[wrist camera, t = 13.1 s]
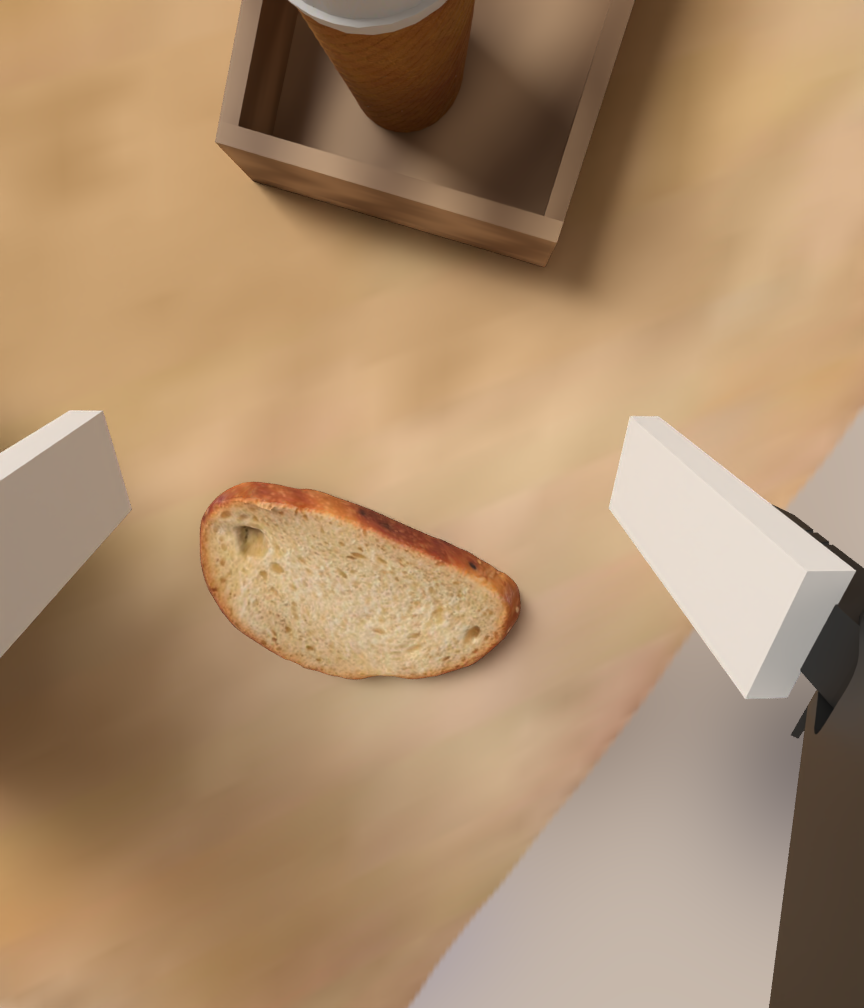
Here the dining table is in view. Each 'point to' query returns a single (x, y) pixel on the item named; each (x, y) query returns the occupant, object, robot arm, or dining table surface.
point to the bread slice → (349, 585)
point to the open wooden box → (445, 144)
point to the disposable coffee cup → (395, 54)
